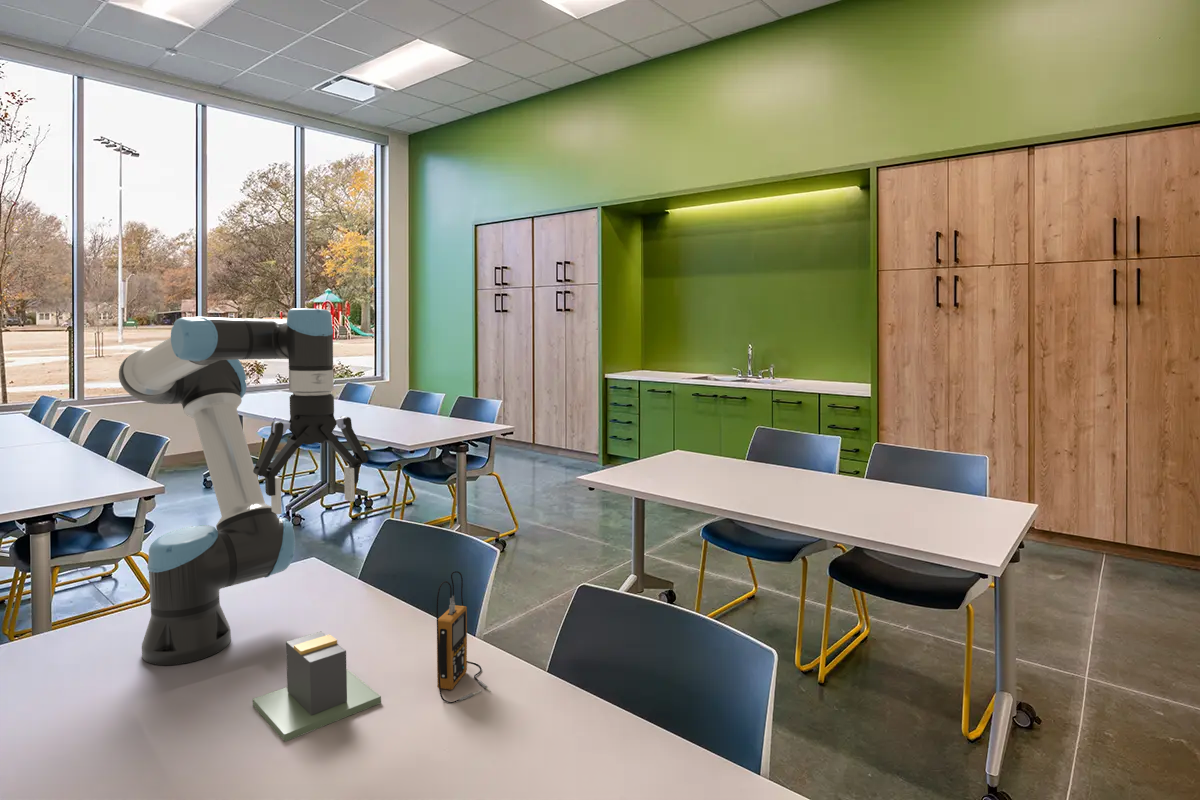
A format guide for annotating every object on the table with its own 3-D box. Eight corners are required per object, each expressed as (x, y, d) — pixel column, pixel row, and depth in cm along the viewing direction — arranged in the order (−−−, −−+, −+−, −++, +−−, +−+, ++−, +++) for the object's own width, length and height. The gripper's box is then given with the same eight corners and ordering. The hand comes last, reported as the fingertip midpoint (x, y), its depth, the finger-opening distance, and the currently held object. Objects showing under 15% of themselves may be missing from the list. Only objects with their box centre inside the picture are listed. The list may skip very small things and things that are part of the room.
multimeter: (482, 708, 115) (482, 595, 113) (427, 701, 117) (426, 589, 115) (510, 667, 129) (510, 565, 127) (461, 661, 131) (461, 561, 129)
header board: (252, 705, 114) (252, 678, 114) (344, 673, 125) (344, 648, 125) (284, 741, 104) (283, 712, 104) (381, 702, 116) (380, 676, 115)
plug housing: (287, 691, 116) (285, 638, 115) (322, 679, 121) (321, 627, 120) (310, 715, 109) (309, 658, 108) (347, 701, 114) (346, 646, 113)
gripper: (245, 398, 112) (250, 522, 114) (384, 391, 130) (386, 499, 132) (231, 395, 118) (235, 513, 120) (366, 388, 135) (368, 492, 137)
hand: (314, 506), depth 126 cm, fingers open, 13 cm apart
